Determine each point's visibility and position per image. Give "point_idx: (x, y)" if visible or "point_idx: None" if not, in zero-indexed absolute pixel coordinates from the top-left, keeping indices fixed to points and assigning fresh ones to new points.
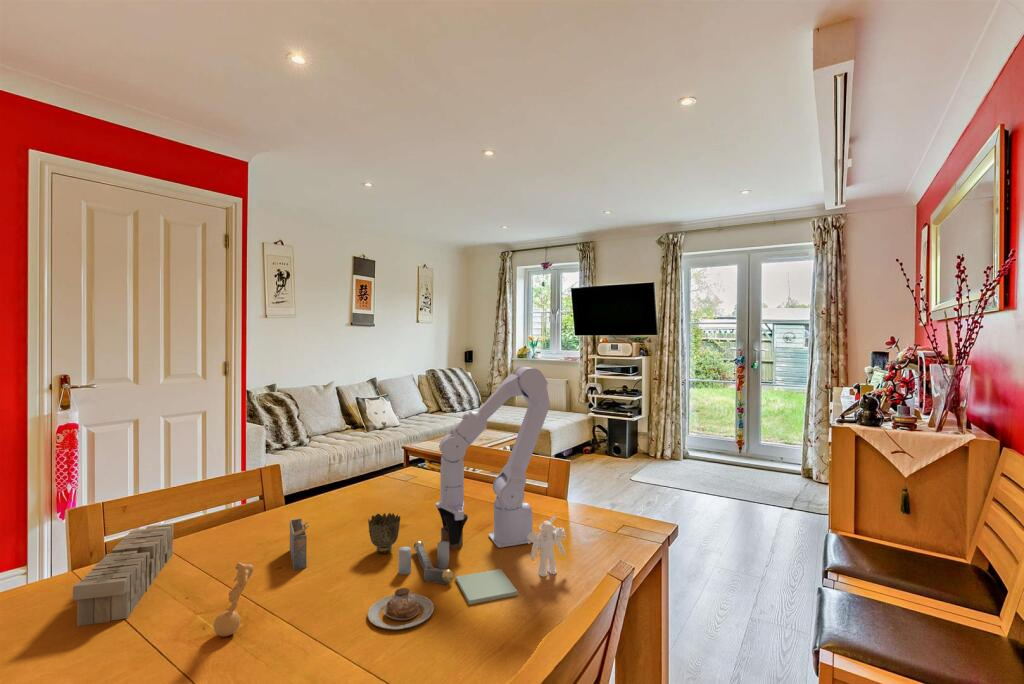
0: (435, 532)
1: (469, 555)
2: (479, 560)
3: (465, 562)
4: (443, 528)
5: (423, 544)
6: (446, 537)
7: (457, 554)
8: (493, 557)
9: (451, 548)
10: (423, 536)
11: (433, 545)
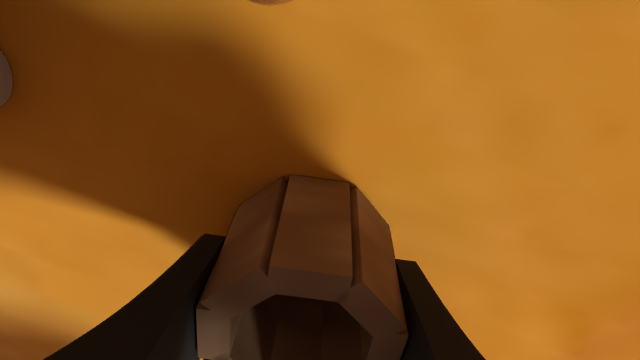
0: (606, 227)
1: (108, 270)
2: (26, 287)
3: (7, 217)
4: (346, 296)
5: (251, 1)
6: (240, 249)
7: (143, 219)
8: (55, 349)
9: (232, 220)
10: (614, 118)
11: (374, 129)
